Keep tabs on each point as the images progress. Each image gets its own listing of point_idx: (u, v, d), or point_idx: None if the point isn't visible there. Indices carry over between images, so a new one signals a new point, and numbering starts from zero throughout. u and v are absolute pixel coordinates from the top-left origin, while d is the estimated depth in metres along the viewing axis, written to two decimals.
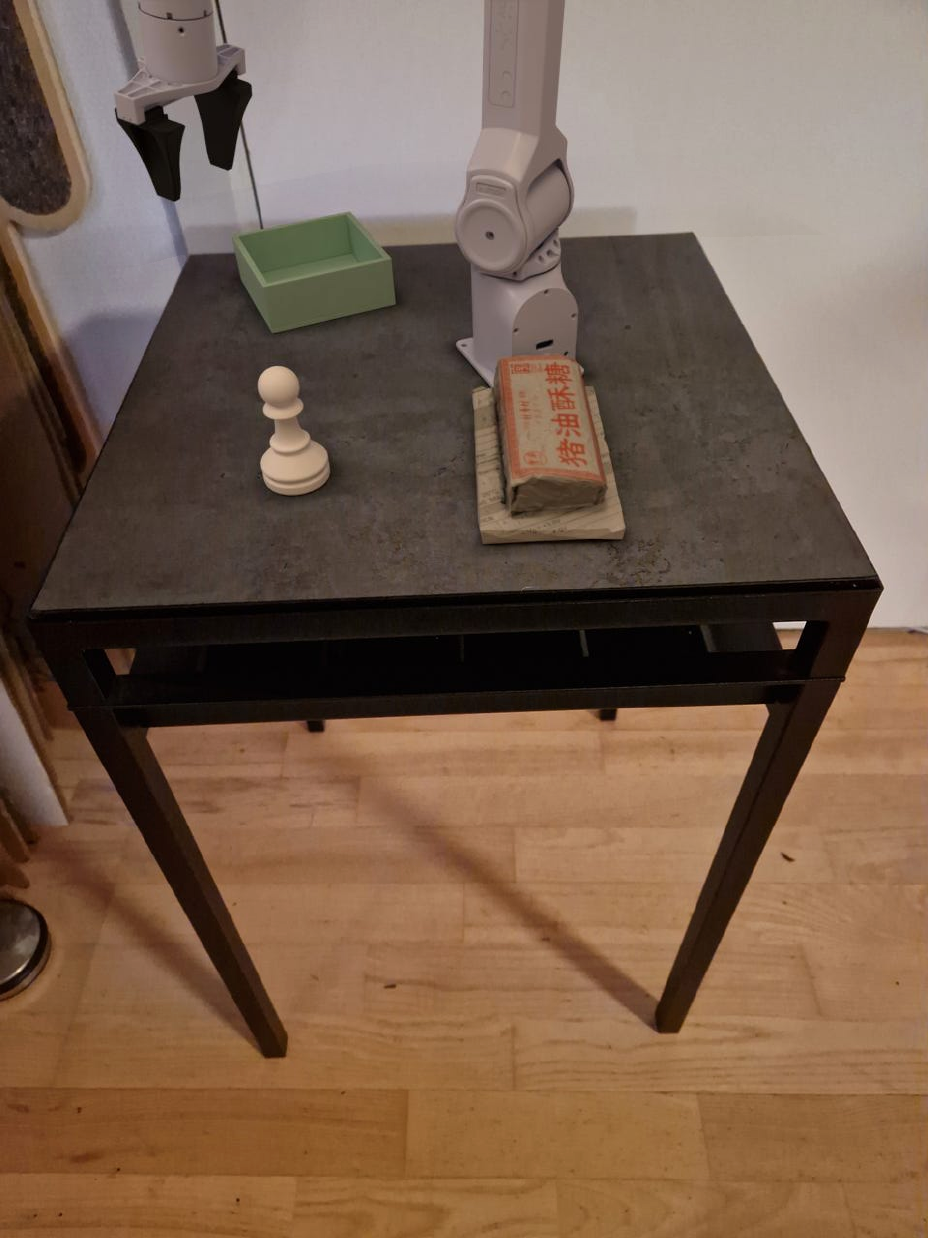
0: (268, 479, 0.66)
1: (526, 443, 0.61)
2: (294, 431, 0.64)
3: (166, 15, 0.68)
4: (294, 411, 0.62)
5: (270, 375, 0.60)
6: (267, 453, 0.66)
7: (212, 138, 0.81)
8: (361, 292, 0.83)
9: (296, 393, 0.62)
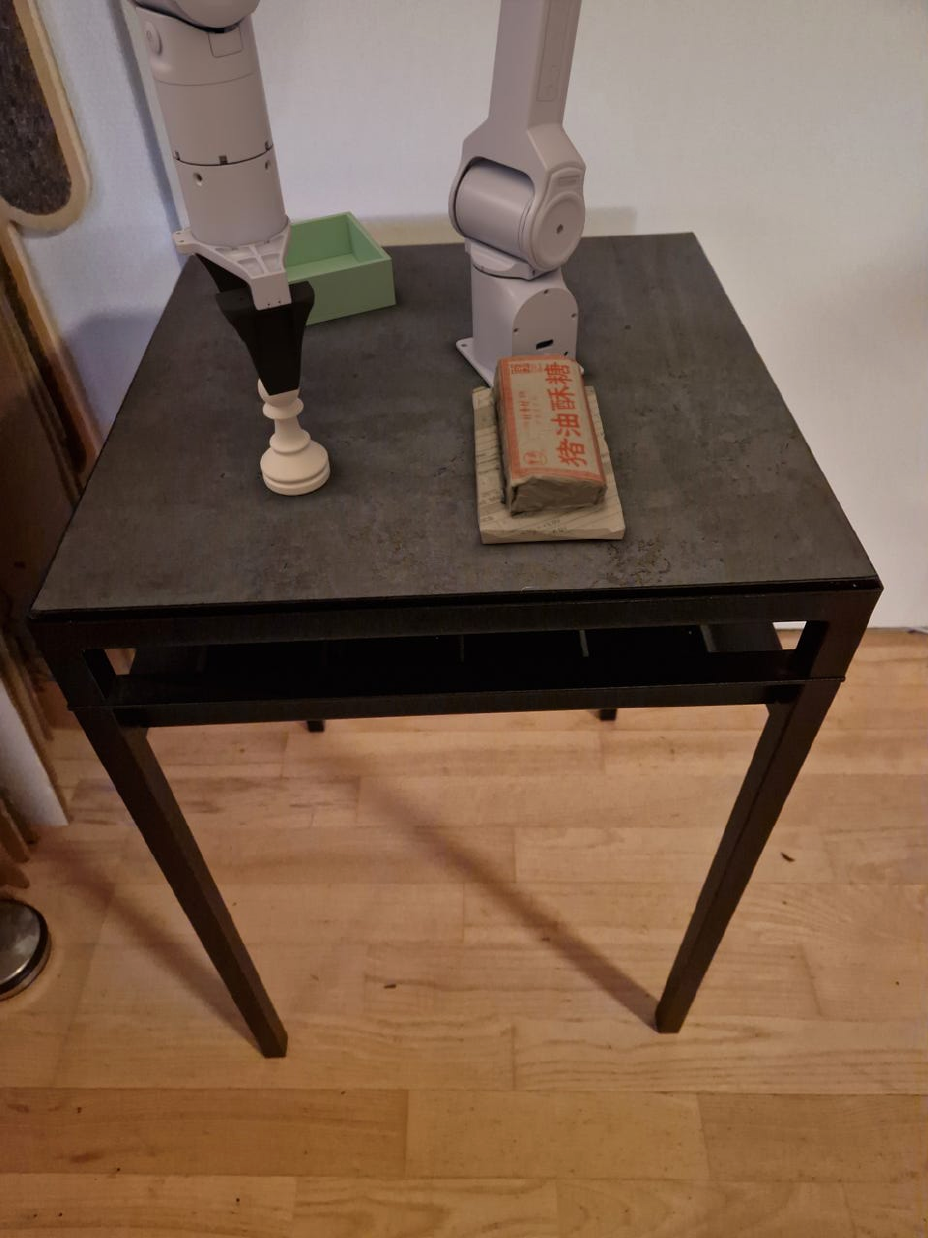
0: (268, 479, 0.66)
1: (526, 443, 0.61)
2: (294, 431, 0.64)
3: (264, 147, 0.50)
4: (294, 411, 0.62)
5: None
6: (267, 453, 0.66)
7: None
8: (361, 292, 0.83)
9: (296, 393, 0.62)
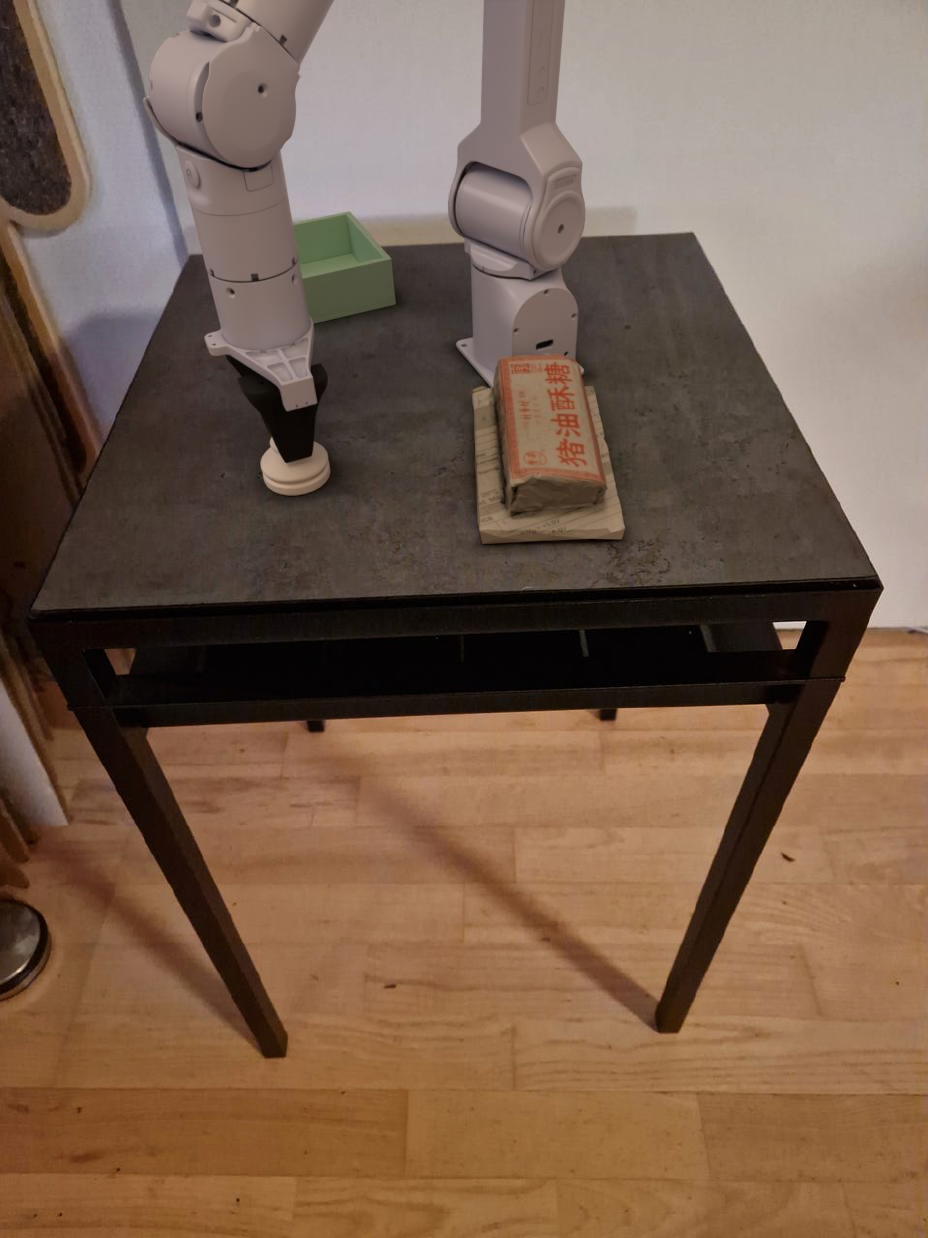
0: (268, 479, 0.66)
1: (526, 443, 0.61)
2: None
3: (291, 263, 0.54)
4: None
5: None
6: (267, 453, 0.66)
7: None
8: (361, 292, 0.83)
9: None
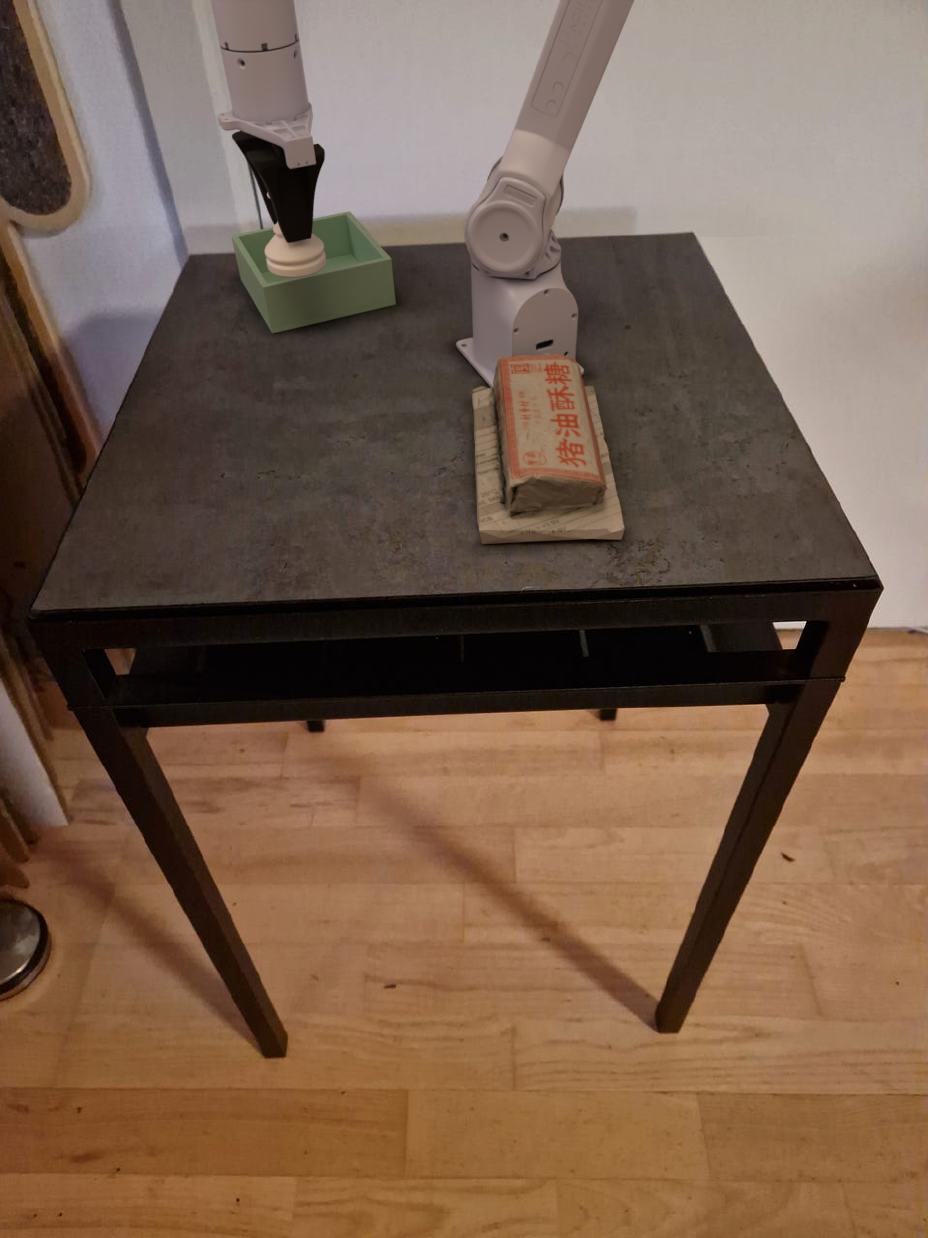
0: (271, 263, 0.74)
1: (525, 444, 0.61)
2: None
3: (261, 47, 0.62)
4: None
5: None
6: (270, 241, 0.74)
7: None
8: (361, 292, 0.83)
9: None
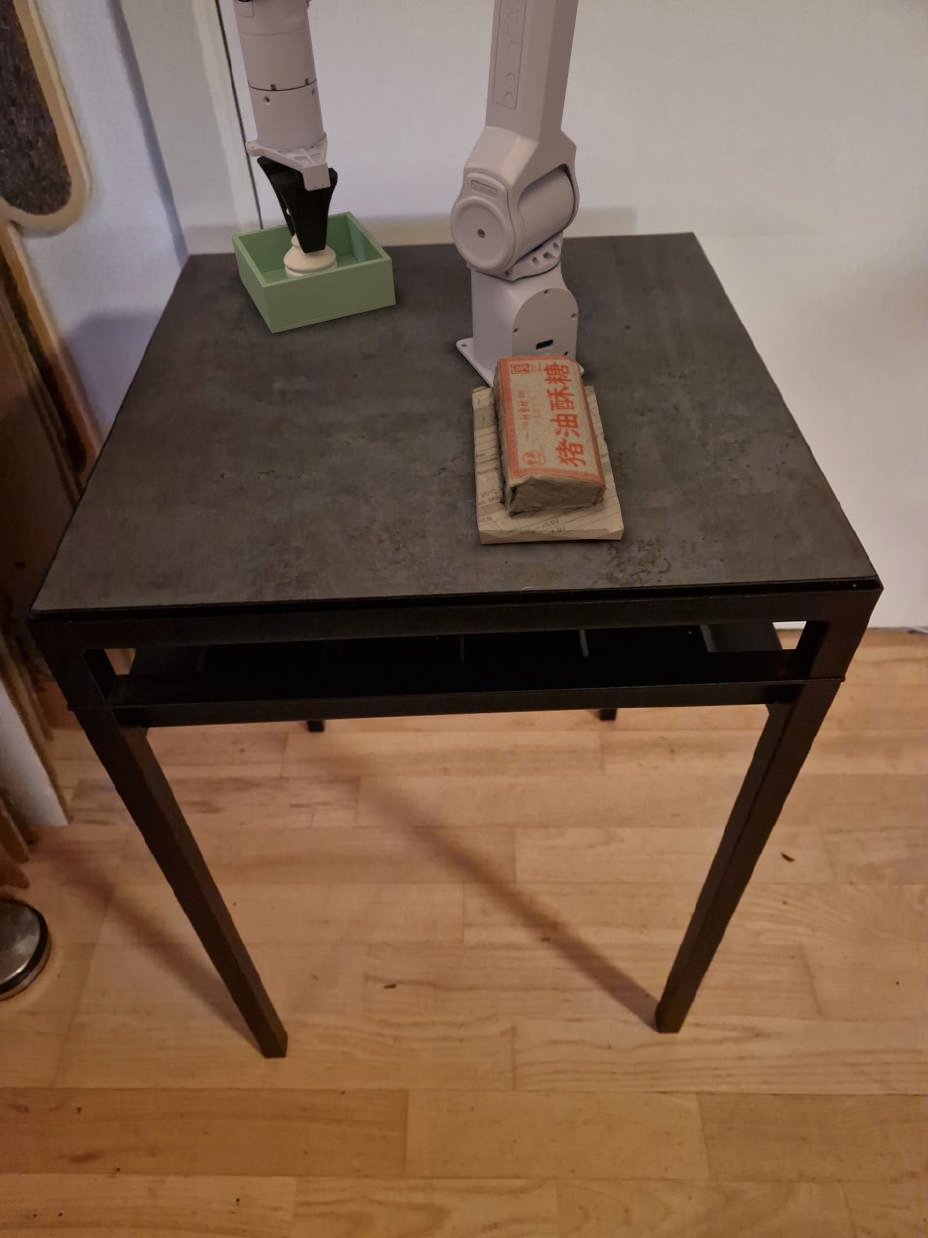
0: (290, 271, 0.85)
1: (525, 444, 0.61)
2: None
3: (270, 87, 0.72)
4: None
5: None
6: (289, 251, 0.85)
7: None
8: (361, 292, 0.83)
9: None
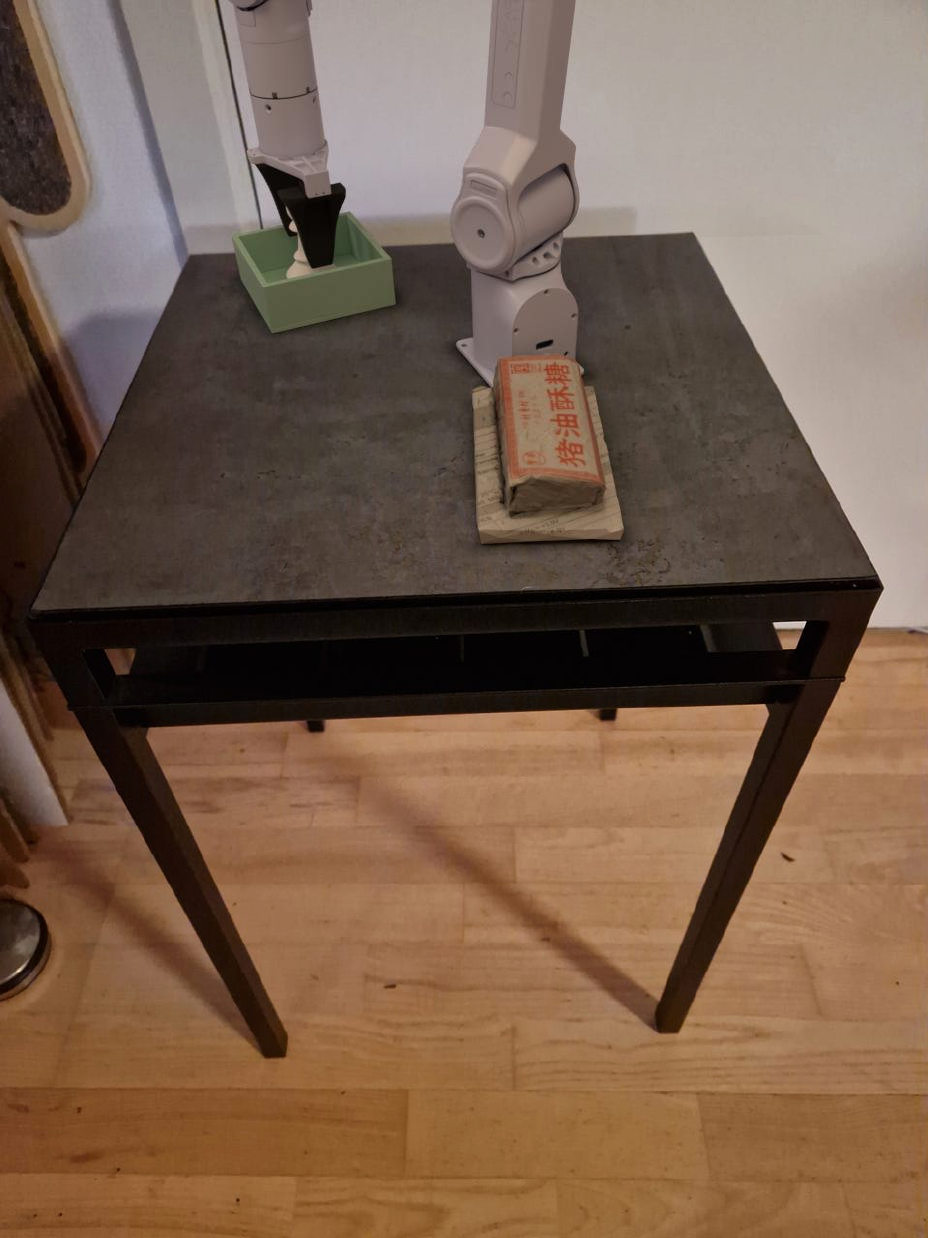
0: None
1: (525, 443, 0.61)
2: None
3: (271, 95, 0.73)
4: None
5: None
6: (291, 266, 0.86)
7: None
8: (361, 292, 0.83)
9: None
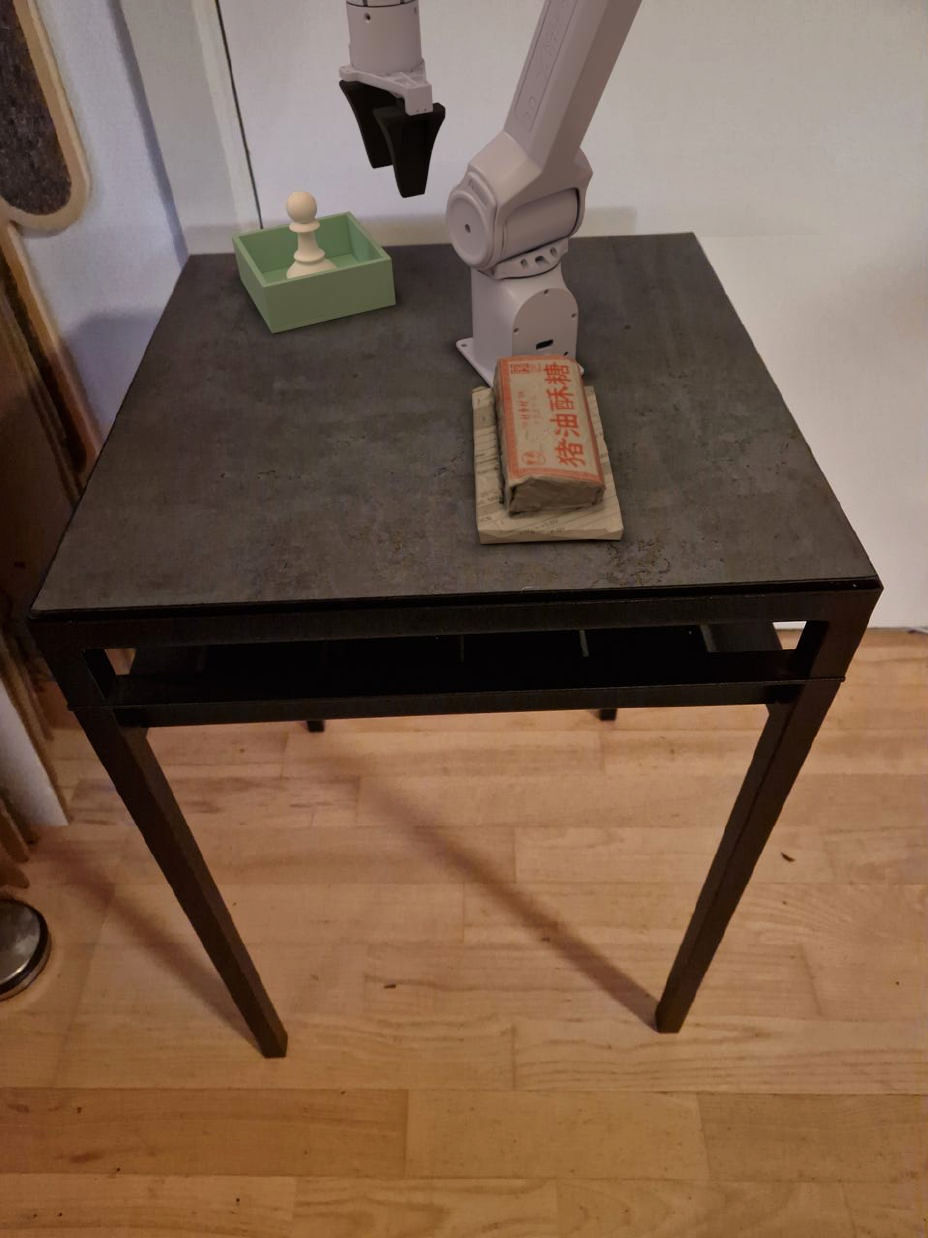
0: None
1: (525, 444, 0.61)
2: (312, 245, 0.84)
3: (362, 2, 0.68)
4: (313, 226, 0.82)
5: (295, 195, 0.81)
6: (291, 266, 0.86)
7: (375, 139, 0.80)
8: (361, 292, 0.83)
9: (315, 211, 0.82)
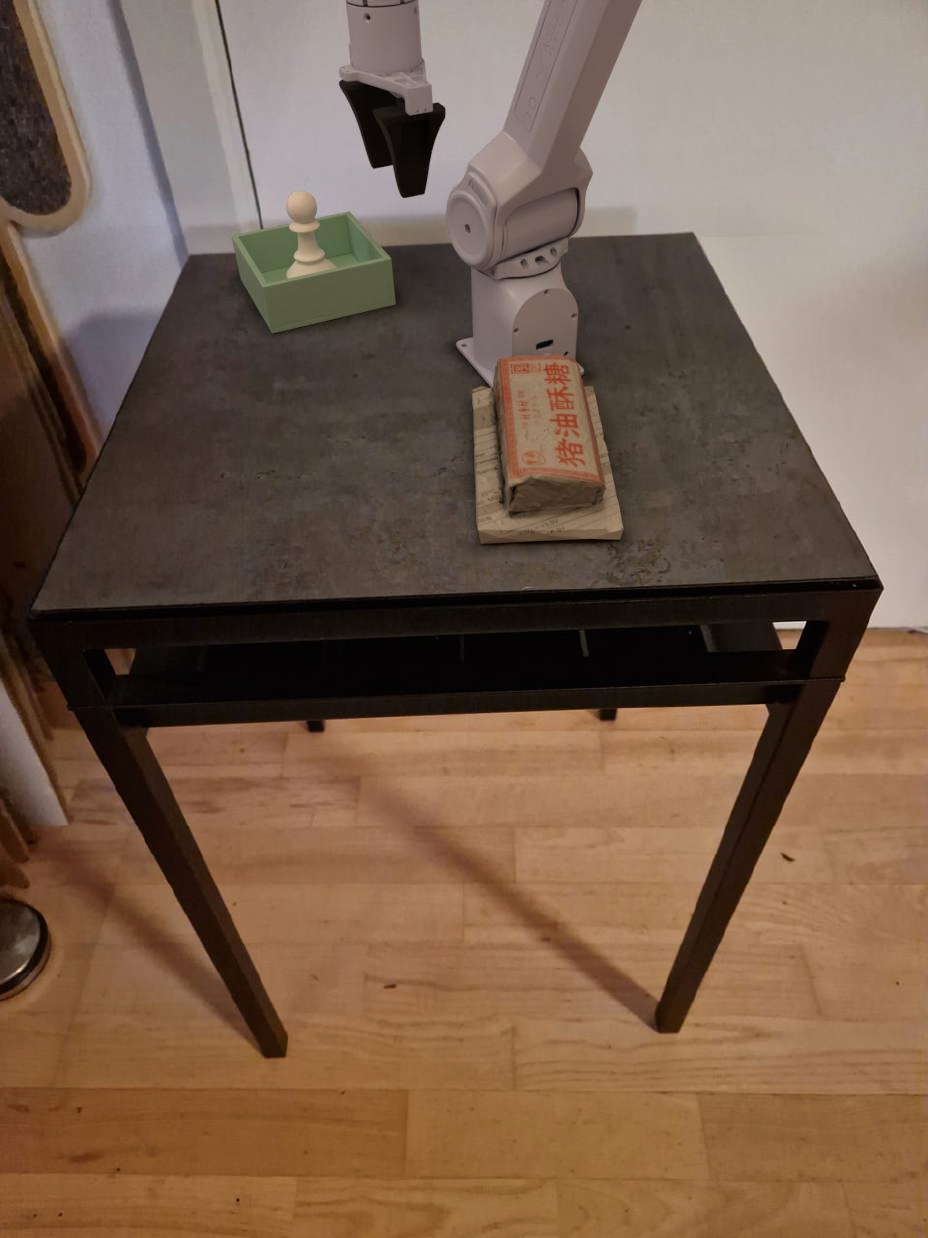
0: None
1: (525, 443, 0.61)
2: (312, 245, 0.84)
3: (362, 2, 0.68)
4: (313, 226, 0.82)
5: (295, 195, 0.81)
6: (291, 266, 0.86)
7: (375, 139, 0.80)
8: (361, 292, 0.83)
9: (315, 211, 0.82)
